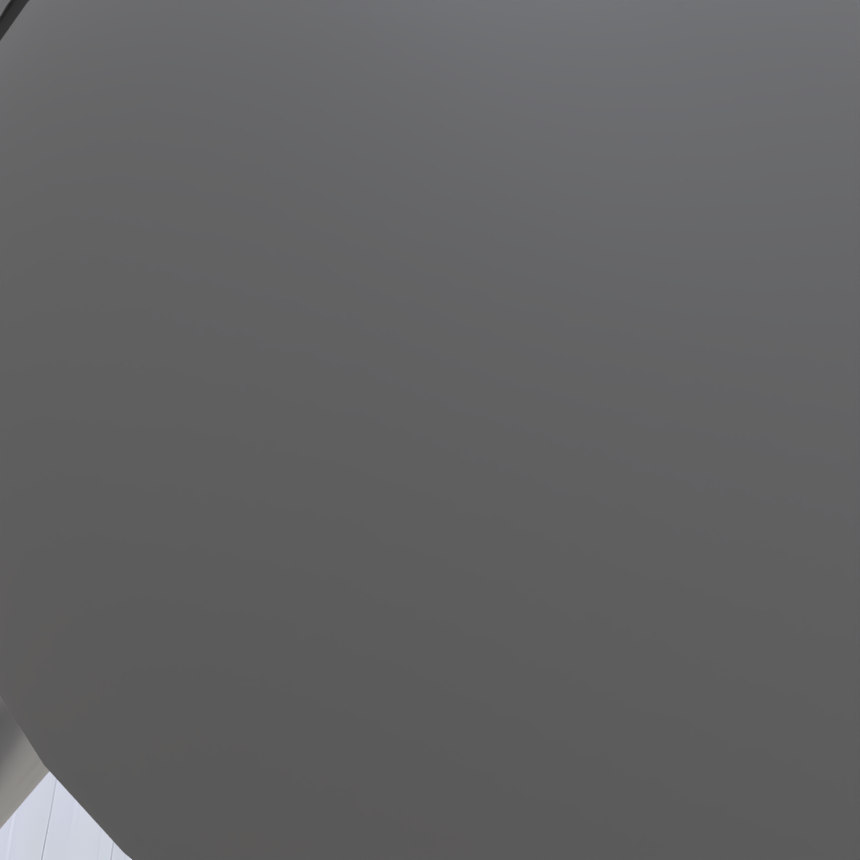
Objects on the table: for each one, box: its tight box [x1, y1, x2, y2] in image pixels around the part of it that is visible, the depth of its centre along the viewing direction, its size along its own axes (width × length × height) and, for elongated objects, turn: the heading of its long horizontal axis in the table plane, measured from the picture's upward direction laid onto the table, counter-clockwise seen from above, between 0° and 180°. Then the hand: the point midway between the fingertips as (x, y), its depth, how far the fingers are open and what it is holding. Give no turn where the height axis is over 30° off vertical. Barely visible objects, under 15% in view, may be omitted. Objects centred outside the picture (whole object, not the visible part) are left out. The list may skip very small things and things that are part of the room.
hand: (669, 449), depth 52 cm, fingers open, 13 cm apart
